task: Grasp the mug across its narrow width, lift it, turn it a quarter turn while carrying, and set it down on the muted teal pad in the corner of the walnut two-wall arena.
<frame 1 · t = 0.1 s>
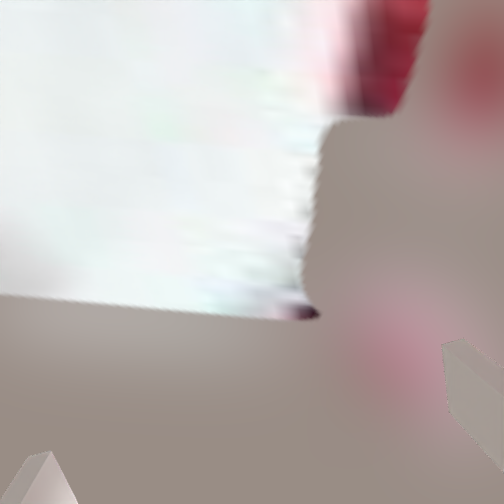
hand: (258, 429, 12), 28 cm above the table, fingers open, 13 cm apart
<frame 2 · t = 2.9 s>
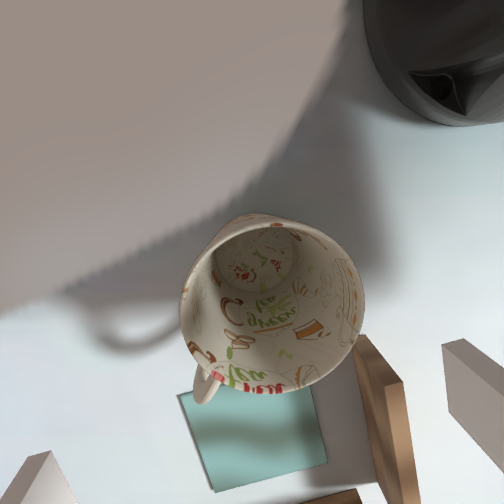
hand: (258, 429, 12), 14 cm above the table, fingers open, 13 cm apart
arena: (257, 429, 29), on the table
mug: (241, 278, 26), on the table
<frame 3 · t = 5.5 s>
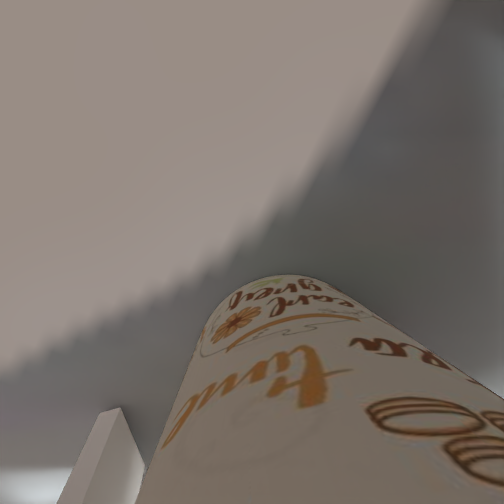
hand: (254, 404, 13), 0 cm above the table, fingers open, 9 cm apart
mug: (255, 395, 13), on the table, touching gripper
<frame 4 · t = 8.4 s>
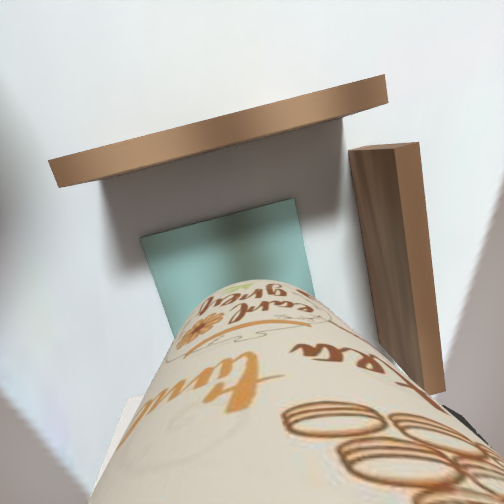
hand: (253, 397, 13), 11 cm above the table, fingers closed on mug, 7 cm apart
arena: (237, 288, 24), on the table
mug: (233, 397, 14), point 11 cm above the table, touching gripper
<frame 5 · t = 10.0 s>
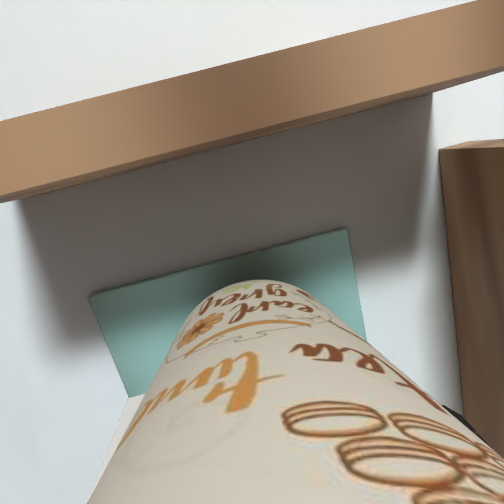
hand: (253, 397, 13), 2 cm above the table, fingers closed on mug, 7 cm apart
arena: (250, 371, 15), on the table
mug: (233, 396, 14), point 1 cm above the table, touching gripper
when the fingers open (2 cm above the table, at t = 10.8 s): mug drops 1 cm, resting on arena.
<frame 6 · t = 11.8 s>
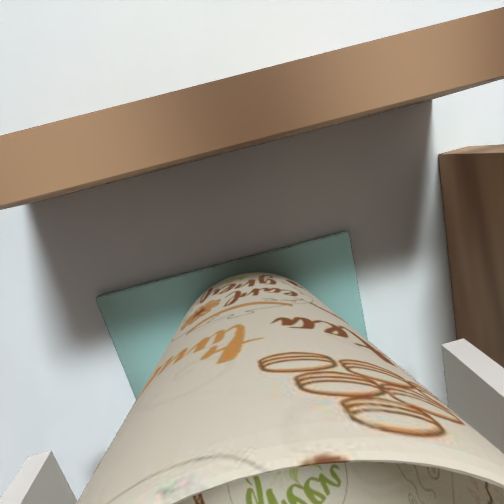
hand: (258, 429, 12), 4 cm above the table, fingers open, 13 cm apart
arena: (253, 371, 15), on the table
mug: (234, 380, 15), resting on arena
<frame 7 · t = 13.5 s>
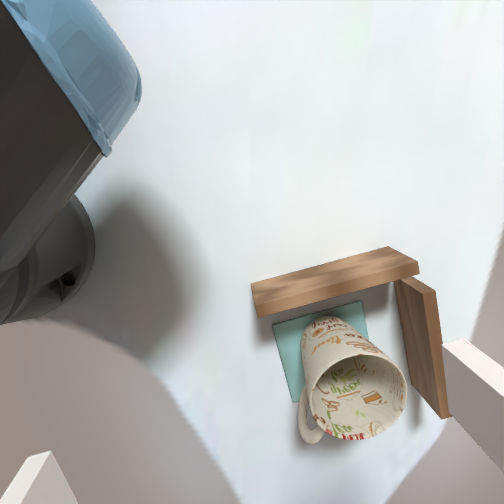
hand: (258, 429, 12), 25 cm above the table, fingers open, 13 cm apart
arena: (325, 352, 40), on the table
mug: (318, 355, 40), resting on arena
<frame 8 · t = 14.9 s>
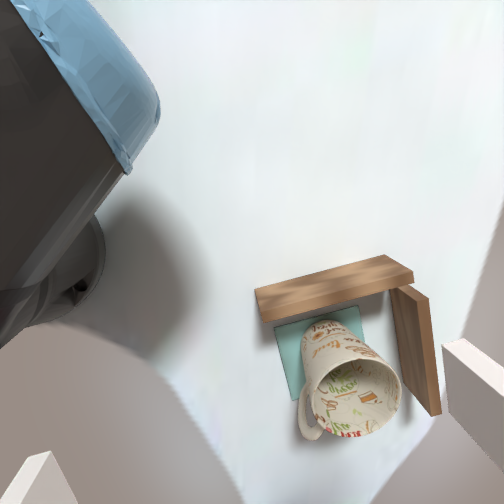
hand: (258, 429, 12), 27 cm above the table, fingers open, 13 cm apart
arena: (323, 353, 42), on the table
mug: (316, 356, 42), resting on arena
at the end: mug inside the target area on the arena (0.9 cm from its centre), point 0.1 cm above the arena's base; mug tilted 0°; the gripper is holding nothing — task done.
